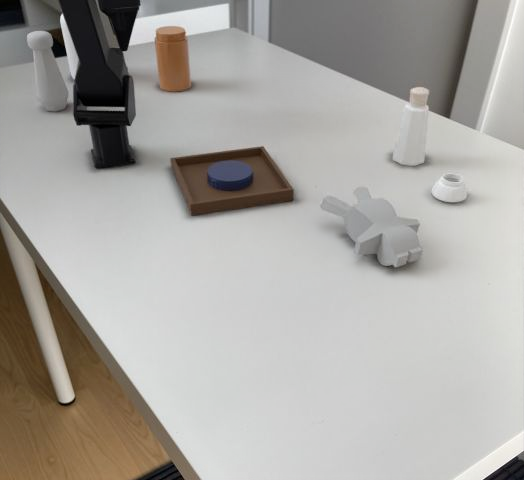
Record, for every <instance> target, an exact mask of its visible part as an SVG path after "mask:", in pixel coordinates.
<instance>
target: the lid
mask: <svg viewBox="0 0 524 480" xmlns="http://www.w3.org/2000/svg"><path fill="white" fill-rule="evenodd" d="M207 179H208V183H209V185H210V186H212V187H213V188H215V189H218V190H223V191H236V190H241V189H244V188H246V187H248V186H250V185H251V183H252V181H253V170H252V167H251V166H250V165H248V164H246V163H244V162H240V161H221V162H218V163H215V164H213V165H211V166H210V167H209V168H208V171H207Z"/></svg>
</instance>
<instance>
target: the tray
mask: <svg viewBox="0 0 524 480" xmlns="http://www.w3.org/2000/svg"><path fill="white" fill-rule="evenodd" d="M221 161H240V162H244V163H246V164H248V165H250V166H251V167H252V170H253V181H252V183H251V185H250V186H248V187H246V188H244V189H241V190H236V191H223V190H218V189H215V188H213V187H212V186H210V185H209V183H208V179H207V171H208V168H209V167H210V166H211V165H213V164H215V163H218V162H221ZM170 165H171V170H172V173H173V175H174V177H175V180H176V183H177V185H178V187H179V189H180V192H181V195H182V196H183V199H184V202H185V204H186V206H187V209H188V211H189V213H190V215H191V216H197V215H198V216H199V215H205V214H212V213H219V212H225V211H230V210H238V209H245V208H251V207H258V206H264V205H271V204H278V203H279V204H280V203H285V202H291V201H294V191H295V190H294V188H293V186H292V185H291V183H290V182H289V180H288V179H287V178H286V176H285V174H283V172H282V170H281V169H280V168H279V166H278V165H277V163H276V162H275V161H274V159H273V158H272V156H271V155H270V154H269V152H268V151H267V149H266V148H265V146H264V145H262V146H253V147H244V148H237V149H231V150H223V151H215V152H207V153H200V154H199V153H198V154H192V155H182V156H176V157H170Z"/></svg>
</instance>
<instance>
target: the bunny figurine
mask: <svg viewBox="0 0 524 480" xmlns="http://www.w3.org/2000/svg"><path fill="white" fill-rule="evenodd" d="M353 195H354V197H355V198H356V200H357V202H356V203H355V204H354V205H353V206H352V205H351V204H350V203H349V204H348V203H347V202H345V201H343V200H341V199H340V198H339V197H336V196H332V195H326V196H324V197H323V198H322V201H321V202H320V204H319V209H320V210H321V211H323V212H327V213H329V214H333V215H335V216H338V217H341V218H343V220H344V224H345V229H346V233H347V235H348V236H349V238H350V239H351V240H352V241H353V242H354V243H355V245H354V249H353V253H354V254H356V255H357V256H363V255H364V256H365V255H376V257H377V261H378V263H379V264H380V265H381V266H385V267H387V266H393V267H394V268H399V267H402V266H404V265H406V264H407V263H413V262H416V261H418V260H421V257H422V254H423V251H424V249H423V248H422V247H421V245H420V240H419V237H418V231H419V228H420V221H418V219H417V218H416V219H415V218H408V217H401V216H398V214H397V212H396V208H394V206H393V204H391V203H390V201H388V200H387V199H386V198H384V197H376V198H375V197H374V198H372V197H371V194H370V190H369V188H368V187H366V186H358V187H356V188H354V189H353Z"/></svg>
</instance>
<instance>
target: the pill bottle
mask: <svg viewBox="0 0 524 480" xmlns="http://www.w3.org/2000/svg"><path fill="white" fill-rule="evenodd" d="M59 22H60V23H59V24H60V27H61V32H62V33H61V34H62V38H63V41H64V46H65V51H66V58H67V61H68V67H69V71H70V74H71V78H72V79H73V80H74V81H75V76H76V70H77V65H78V60H79V59H78V56H77V53H76V50H75V48H74V45H73V42H72V39H71V36H70V33H69V31H68V28H67V25H66V22H65V19H64V16H63V13H62V12H61V15H60V19H59Z"/></svg>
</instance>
